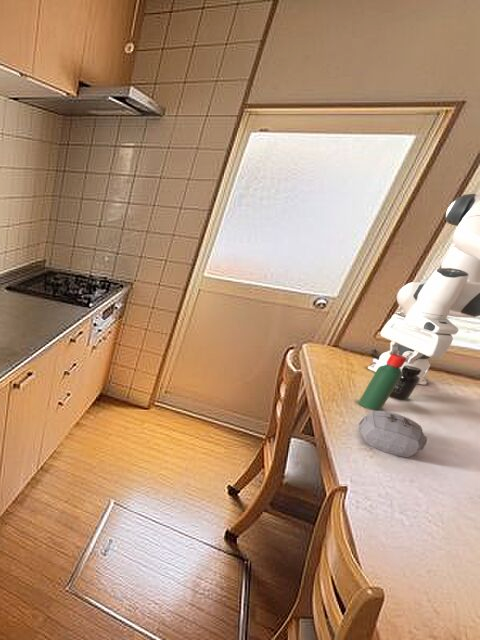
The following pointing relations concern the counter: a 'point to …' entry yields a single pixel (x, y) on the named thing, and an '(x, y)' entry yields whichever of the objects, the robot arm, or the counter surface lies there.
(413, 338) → the robot arm
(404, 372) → the supplement bottle
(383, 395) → the bottle
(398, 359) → the cap
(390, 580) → the counter surface
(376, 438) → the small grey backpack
